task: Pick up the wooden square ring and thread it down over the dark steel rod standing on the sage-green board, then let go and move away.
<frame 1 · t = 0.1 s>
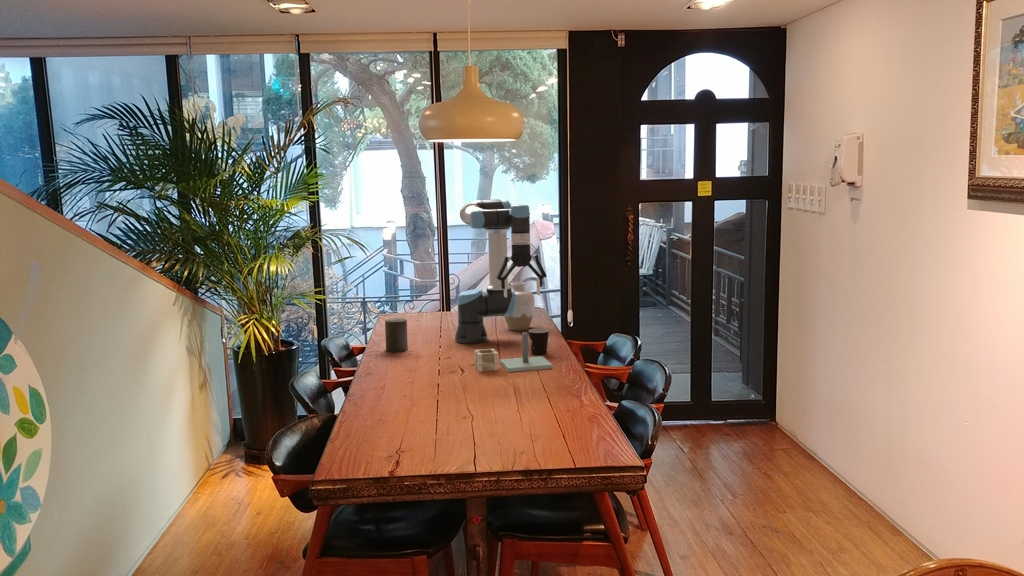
hand: (522, 295, 325), 28 cm above the table, fingers open, 13 cm apart
wooden square ring: (486, 368, 322), on the table
vase: (518, 329, 397), on the table
pillar candle: (397, 350, 359), on the table
coffee mug: (539, 353, 347), on the table
rod stand: (525, 365, 325), on the table
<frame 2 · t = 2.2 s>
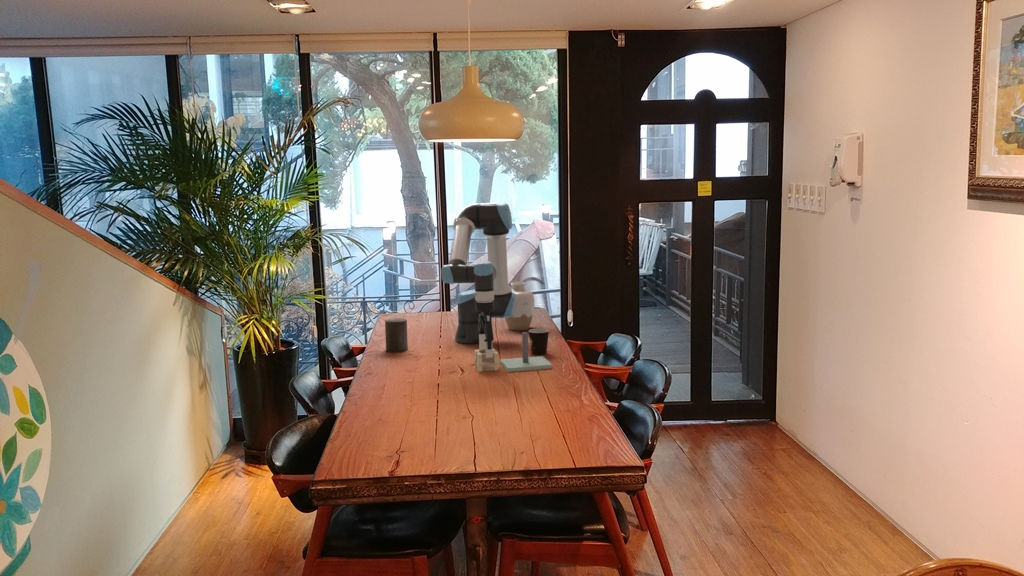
hand: (486, 353, 321), 6 cm above the table, fingers open, 13 cm apart
nothing on the table moved.
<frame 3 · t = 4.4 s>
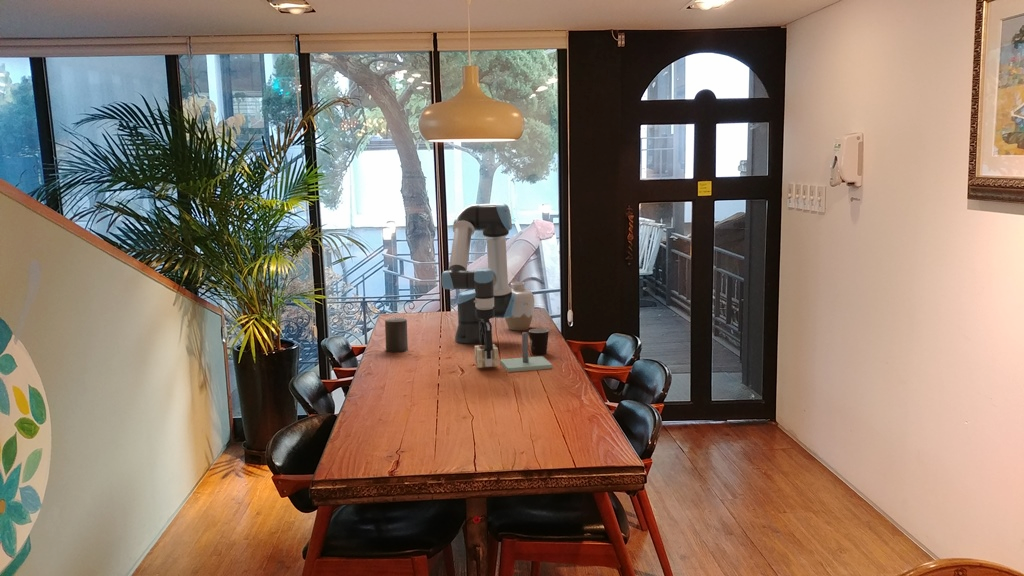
hand: (486, 363, 322), 2 cm above the table, fingers closed on wooden square ring, 8 cm apart
wooden square ring: (486, 364, 322), point 2 cm above the table, touching gripper
everything else where it was.
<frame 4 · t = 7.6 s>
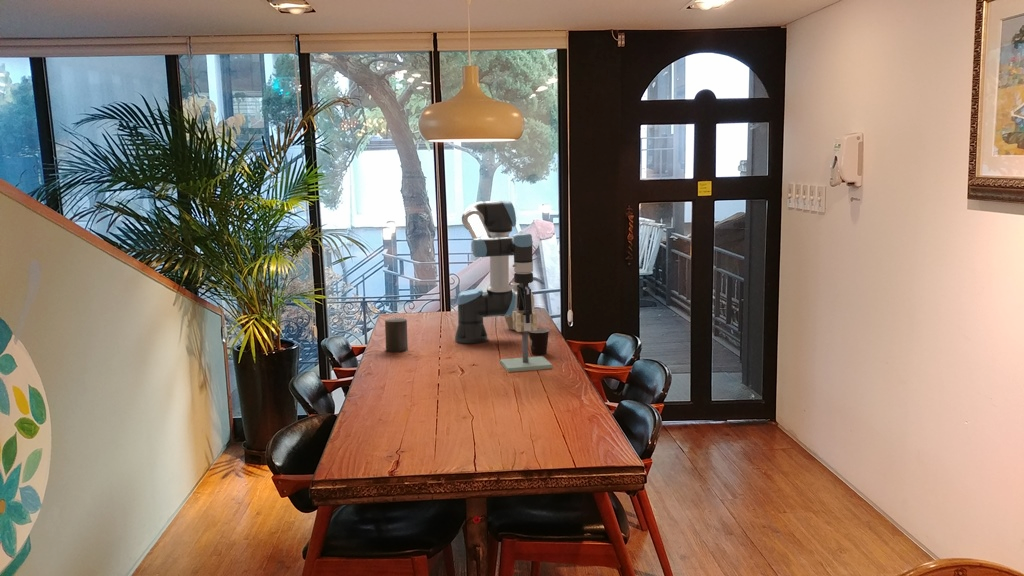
hand: (524, 328, 323), 15 cm above the table, fingers closed on wooden square ring, 8 cm apart
wooden square ring: (524, 329, 323), point 15 cm above the table, touching gripper
everything else where it was.
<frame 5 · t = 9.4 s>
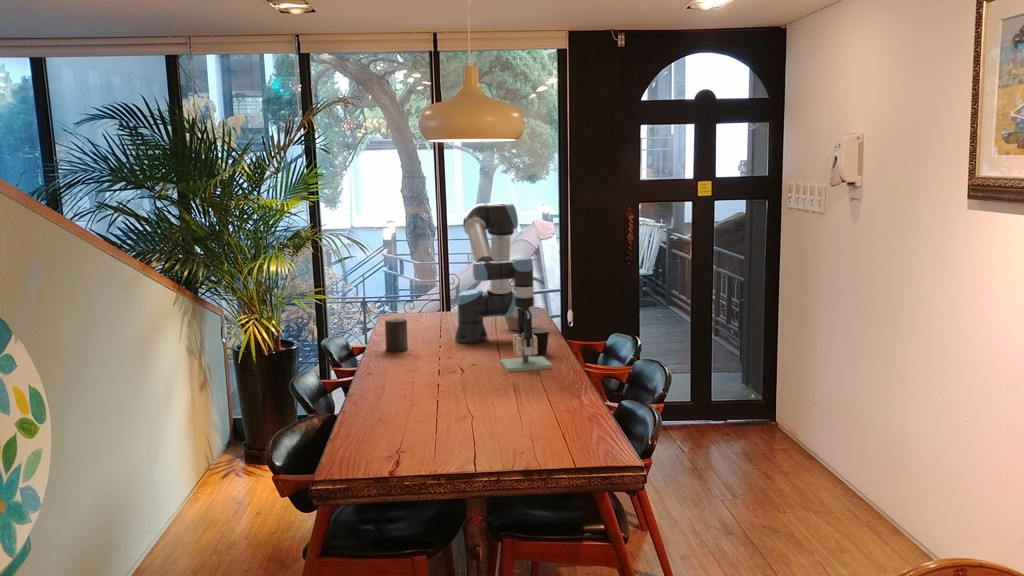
hand: (525, 352, 324), 6 cm above the table, fingers closed on wooden square ring, 8 cm apart
wooden square ring: (525, 352, 324), point 5 cm above the table, touching gripper
everything else where it was.
when the fingers open (4 cm above the table, at t = 10.9 s): wooden square ring drops 2 cm, resting on rod stand.
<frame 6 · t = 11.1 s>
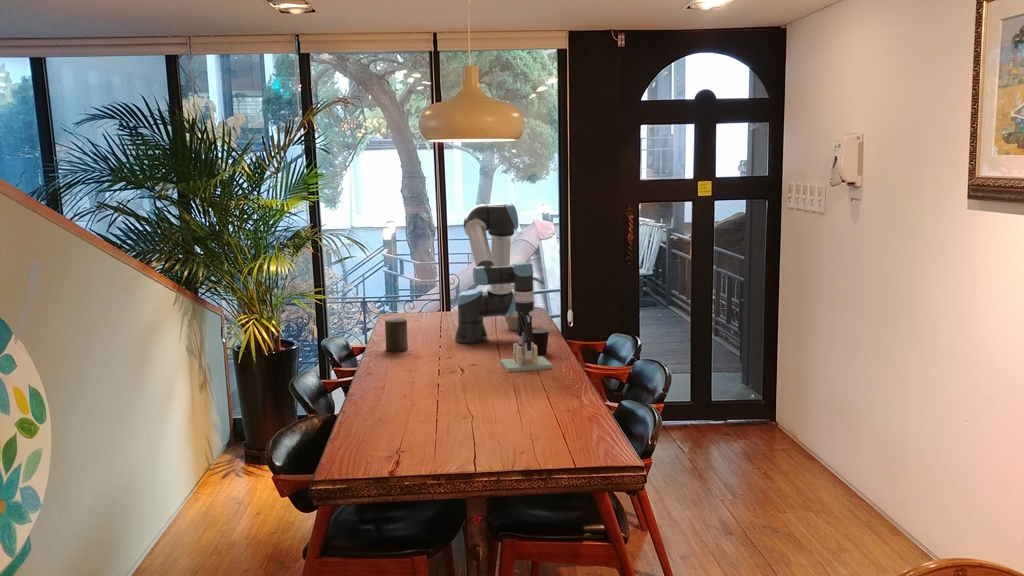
hand: (525, 355, 325), 4 cm above the table, fingers open, 10 cm apart
wooden square ring: (525, 361, 325), point 1 cm above the table, touching rod stand
everything else where it was.
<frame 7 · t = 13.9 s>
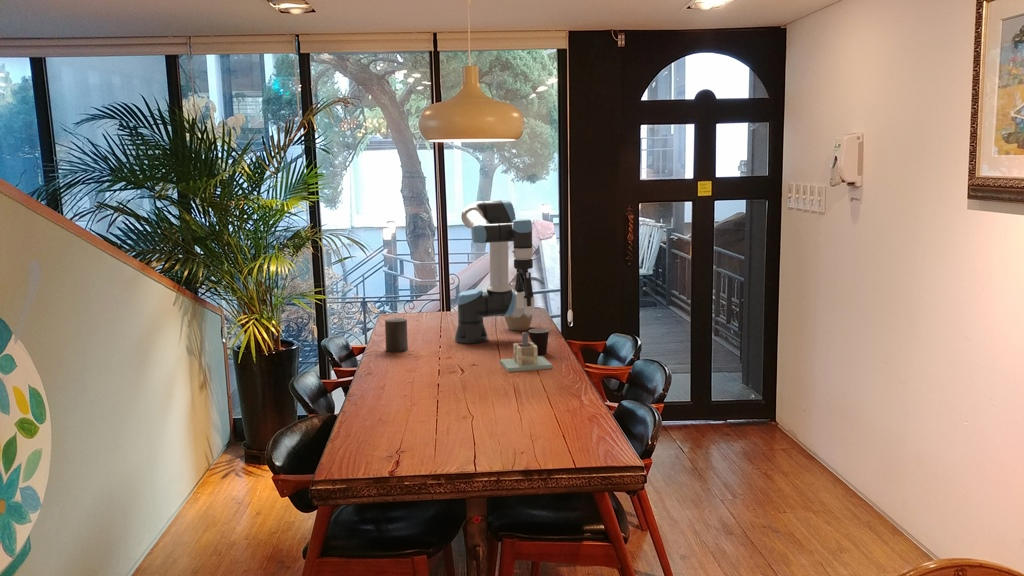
hand: (524, 311, 322), 22 cm above the table, fingers open, 13 cm apart
nothing on the table moved.
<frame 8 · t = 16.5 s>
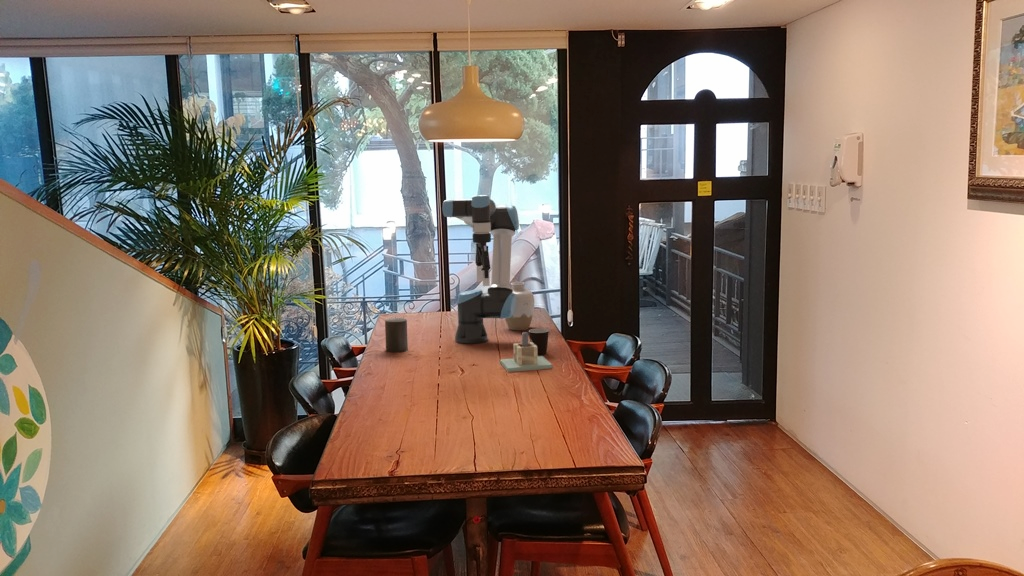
hand: (483, 283, 335), 32 cm above the table, fingers open, 13 cm apart
nothing on the table moved.
at the end: wooden square ring 0.0 cm from the rod stand (horizontally); wooden square ring point 1.5 cm above the table; the gripper is holding nothing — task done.
